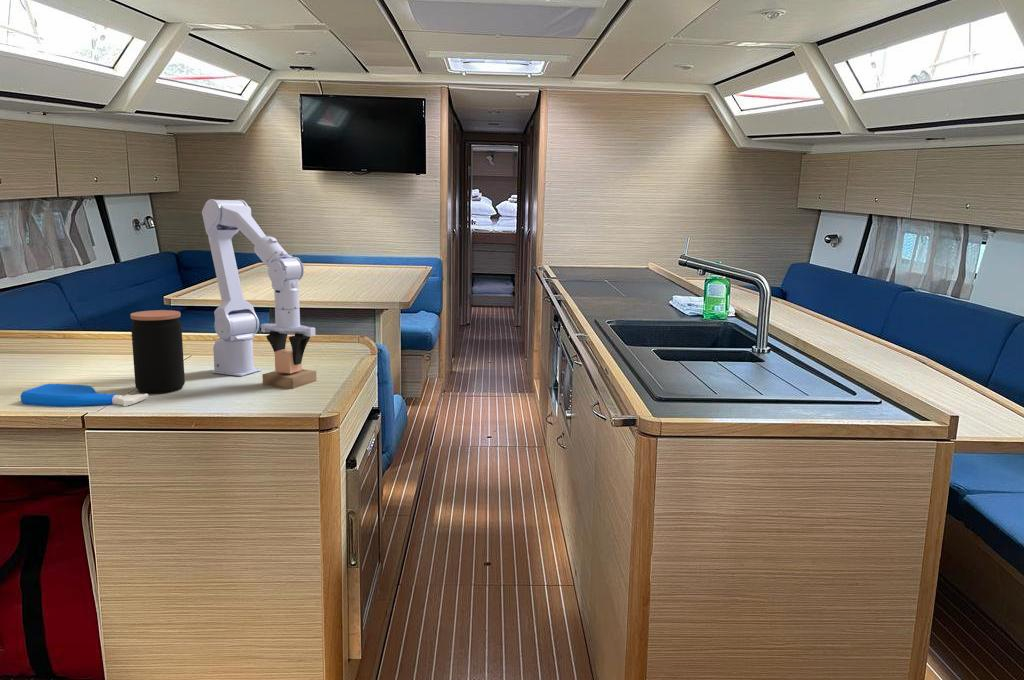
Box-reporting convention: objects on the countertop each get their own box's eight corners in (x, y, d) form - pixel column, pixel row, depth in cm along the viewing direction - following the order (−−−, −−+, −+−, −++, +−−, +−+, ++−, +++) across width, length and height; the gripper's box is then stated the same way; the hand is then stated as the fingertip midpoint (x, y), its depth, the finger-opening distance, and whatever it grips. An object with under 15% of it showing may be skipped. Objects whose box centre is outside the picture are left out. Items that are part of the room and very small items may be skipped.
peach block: (275, 371, 187) (274, 351, 186) (287, 368, 191) (286, 348, 190) (290, 373, 185) (289, 353, 184) (301, 369, 189) (300, 349, 188)
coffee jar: (195, 386, 184) (191, 311, 181) (161, 396, 174) (156, 317, 171) (159, 382, 187) (154, 309, 184) (124, 392, 177) (119, 314, 174)
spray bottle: (15, 393, 165) (123, 399, 162) (50, 381, 175) (152, 387, 173) (16, 406, 165) (124, 413, 163) (51, 394, 176) (153, 400, 174)
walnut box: (262, 386, 187) (262, 374, 186) (287, 379, 195) (286, 367, 194) (293, 390, 183) (292, 378, 183) (316, 382, 191) (316, 370, 191)
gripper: (251, 308, 185) (254, 363, 187) (301, 312, 179) (303, 369, 182) (271, 304, 191) (273, 358, 193) (320, 308, 186) (321, 363, 188)
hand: (289, 363), depth 188 cm, fingers closed on peach block, 4 cm apart
